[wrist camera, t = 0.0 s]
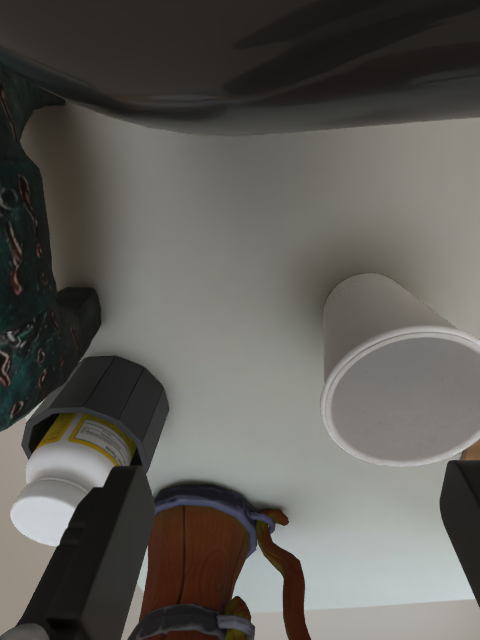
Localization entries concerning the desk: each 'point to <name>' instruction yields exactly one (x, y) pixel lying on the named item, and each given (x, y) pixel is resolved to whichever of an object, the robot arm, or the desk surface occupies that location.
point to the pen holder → (107, 404)
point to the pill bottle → (67, 473)
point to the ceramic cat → (32, 271)
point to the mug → (211, 567)
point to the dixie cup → (396, 376)
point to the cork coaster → (472, 452)
